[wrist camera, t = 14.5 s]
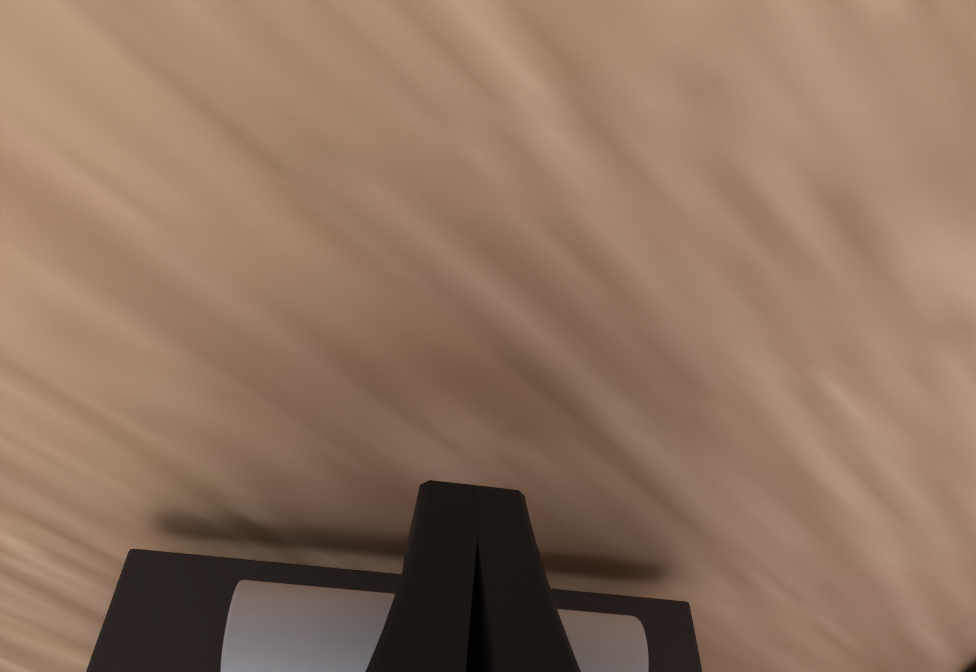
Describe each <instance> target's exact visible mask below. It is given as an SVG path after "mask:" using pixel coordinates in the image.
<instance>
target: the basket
mask: <svg viewBox="0 0 976 672" xmlns="http://www.w3.org/2000/svg"><path fill="white" fill-rule="evenodd" d="M401 576H402V574H392V573H381V572H371V571H360V570H350V569H339V568H329V567H319V566H308V565H298V564H287V563H277V562H266V561H256V560H245V559H235V558H224V557H214V556H203V555H193V554H183V553H172V552H162V551H151V550H141V549H131V550H130V551H129V552H128V555H127V558H126V560H125V563H124V566H123V569H122V572H121V575H120V577H119V580H118V583H117V586H116V589H115V592H114V594H113V597H112V600H111V603H110V606H109V609H108V611H107V614H106V617H105V620H104V623H103V626H102V628H101V631H100V634H99V637H98V640H97V643H96V645H95V648H94V651H93V654H92V657H91V660H90V663H89V665H88V668H87V671H86V672H365V671H366V669H367V667H368V664H369V662H370V659H371V657H372V655H373V652H374V650H375V648H376V645H377V643H378V640H379V638H380V635H381V633H382V630H383V627H384V625H385V622H386V619H387V616H388V613H389V610H390V607H391V605H392V602H393V599H394V596H395V593H396V590H397V588H398V585H399V582H400V579H401ZM550 590H551V593H552V596H553V599H554V602H555V604H556V607H557V610H558V613H559V616H560V618H561V621H562V624H563V626H564V629H565V631H566V634H567V637H568V639H569V642H570V645H571V647H572V650H573V653H574V655H575V658H576V661H577V663H578V665H579V668H580V670H581V672H702V668H701V662H700V657H699V652H698V647H697V642H696V636H695V631H694V626H693V621H692V616H691V611H690V605H689V603H688V602H685V601H674V600H664V599H653V598H643V597H632V596H622V595H612V594H601V593H591V592H580V591H570V590H559V589H550Z"/></svg>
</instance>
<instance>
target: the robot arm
mask: <svg viewBox="0 0 976 672" xmlns="http://www.w3.org/2000/svg"><path fill="white" fill-rule="evenodd" d="M365 672H581V670H580V668H579V665H578V663H577V661H576V658H575V655H574V653H573V650H572V647H571V645H570V642H569V639H568V637H567V634H566V631H565V629H564V626H563V624H562V621H561V618H560V616H559V613H558V610H557V607H556V604H555V602H554V599H553V596H552V593H551V590H550V587H549V584H548V581H547V577H546V574H545V571H544V568H543V565H542V562H541V559H540V555H539V552H538V548H537V545H536V541H535V538H534V534H533V530H532V526H531V522H530V518H529V514H528V510H527V506H526V501H525V496H524V495H523V494H522V493H521V492H520V491H519V490H512V489H503V488H495V487H486V486H477V485H468V484H459V483H450V482H441V481H432V480H429V481H427V482H425V483H422V484H420V487H419V492H418V496H417V501H416V506H415V510H414V515H413V520H412V524H411V529H410V534H409V539H408V543H407V548H406V553H405V557H404V565H403V572H402V576H401V579H400V582H399V585H398V588H397V590H396V593H395V596H394V599H393V602H392V605H391V607H390V610H389V613H388V616H387V619H386V622H385V625H384V627H383V630H382V633H381V635H380V638H379V640H378V643H377V645H376V648H375V650H374V652H373V655H372V657H371V659H370V662H369V664H368V667H367V669H366V671H365ZM975 672H976V671H975Z"/></svg>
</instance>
